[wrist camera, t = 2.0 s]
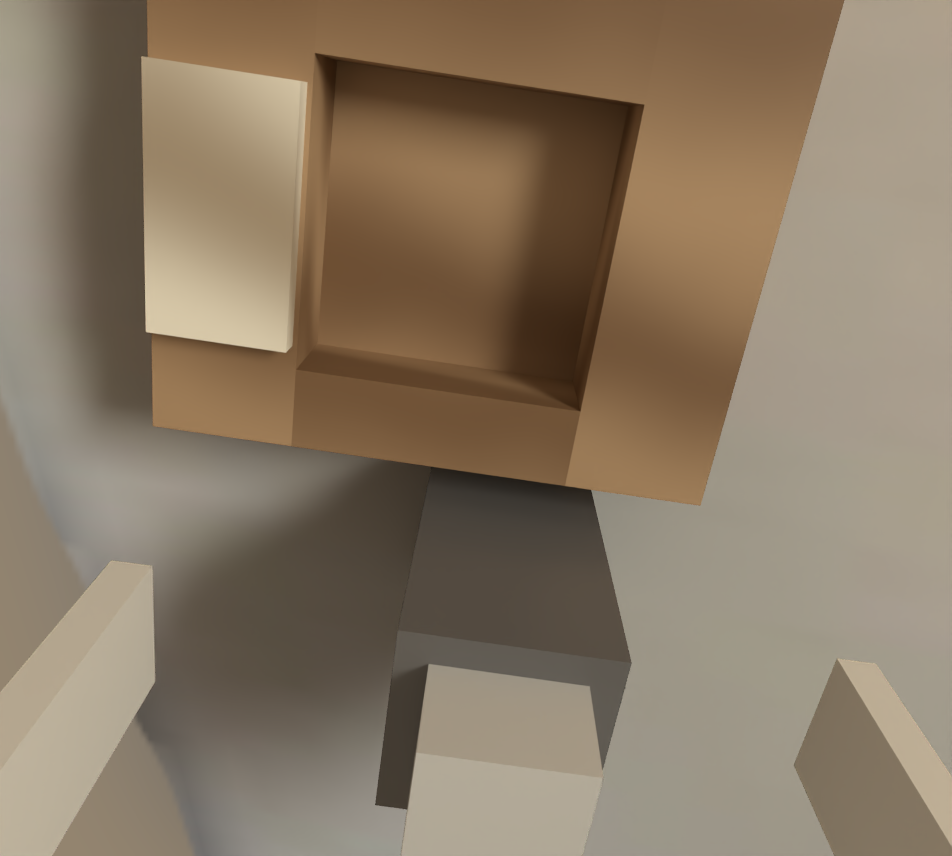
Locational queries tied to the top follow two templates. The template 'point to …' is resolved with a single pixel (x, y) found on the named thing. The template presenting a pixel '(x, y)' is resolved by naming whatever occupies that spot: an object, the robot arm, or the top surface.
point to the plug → (503, 671)
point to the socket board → (470, 224)
